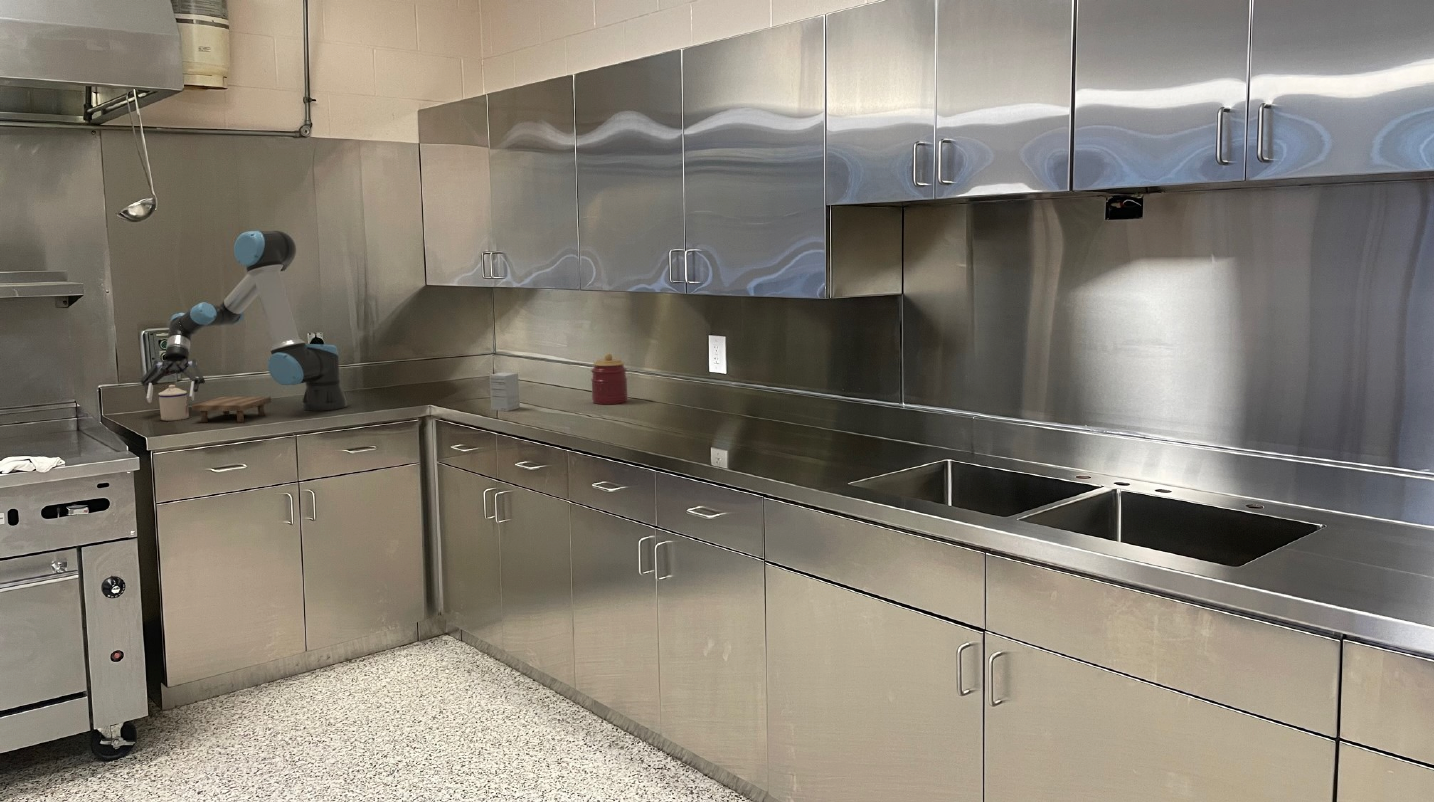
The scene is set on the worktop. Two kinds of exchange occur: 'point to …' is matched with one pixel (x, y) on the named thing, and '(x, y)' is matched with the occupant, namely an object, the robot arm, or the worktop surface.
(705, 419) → the worktop surface
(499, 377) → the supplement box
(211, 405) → the brown wooden stand
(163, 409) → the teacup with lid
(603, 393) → the canister
